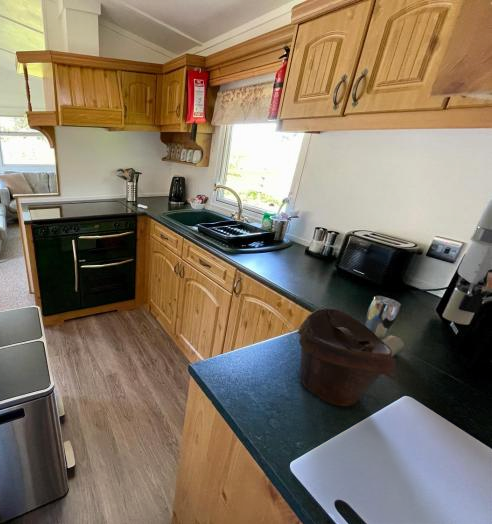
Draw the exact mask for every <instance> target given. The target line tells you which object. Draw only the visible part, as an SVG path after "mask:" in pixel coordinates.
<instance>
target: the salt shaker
mask: <svg viewBox="0 0 492 524" xmlns="http://www.w3.org/2000/svg"><path fill="white" fill-rule="evenodd" d="M382 341H383V342H384V343H385V344H386V346H387V347H388V348H389V349H390V350H391V352H392V358H394V356H396V355H397V354H399V353H401V352H402V351H403V350H404V348H405V344H404V341H403V340H402V339H401V338H399V337H398V336H396V335H387V336H384V338H383V339H382Z"/></svg>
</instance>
